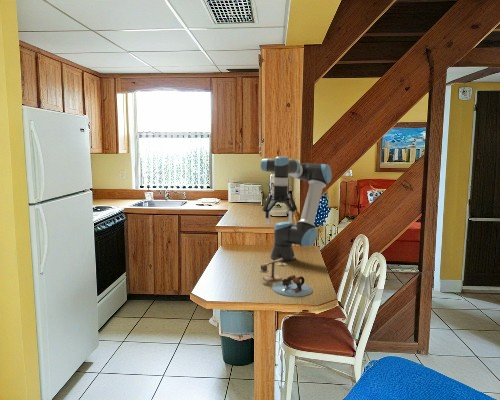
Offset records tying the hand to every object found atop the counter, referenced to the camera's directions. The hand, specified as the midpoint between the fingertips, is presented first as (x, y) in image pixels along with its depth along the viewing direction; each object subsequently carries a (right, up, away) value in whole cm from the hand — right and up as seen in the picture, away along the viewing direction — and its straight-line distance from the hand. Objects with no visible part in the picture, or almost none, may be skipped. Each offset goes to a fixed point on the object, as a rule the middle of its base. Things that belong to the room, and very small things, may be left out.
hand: (279, 223), depth 225 cm
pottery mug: (+6, -32, -21) cm, 38 cm away
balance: (-4, -30, -6) cm, 31 cm away
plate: (+5, -32, -19) cm, 38 cm away
